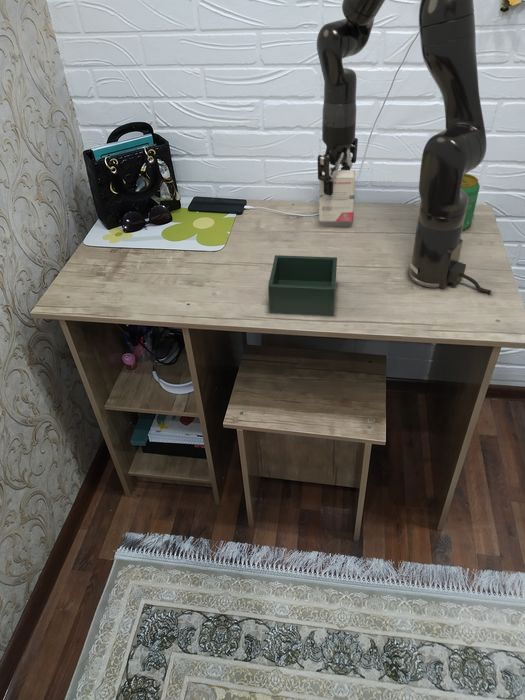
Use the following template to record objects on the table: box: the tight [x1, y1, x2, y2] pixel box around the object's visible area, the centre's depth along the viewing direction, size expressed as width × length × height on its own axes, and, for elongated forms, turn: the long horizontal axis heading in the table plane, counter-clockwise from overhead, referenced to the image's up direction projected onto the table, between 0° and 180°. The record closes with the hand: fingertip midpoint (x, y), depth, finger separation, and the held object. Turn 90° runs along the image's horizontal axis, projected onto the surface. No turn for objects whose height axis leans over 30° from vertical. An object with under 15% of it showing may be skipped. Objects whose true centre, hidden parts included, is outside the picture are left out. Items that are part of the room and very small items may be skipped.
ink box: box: [318, 169, 356, 222], centre depth 141 cm, size 9×5×12 cm, turn 83°
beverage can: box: [461, 173, 481, 232], centre depth 140 cm, size 8×8×12 cm
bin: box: [267, 254, 338, 317], centre depth 123 cm, size 14×12×7 cm
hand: (336, 188), depth 140 cm, fingers closed on ink box, 7 cm apart
